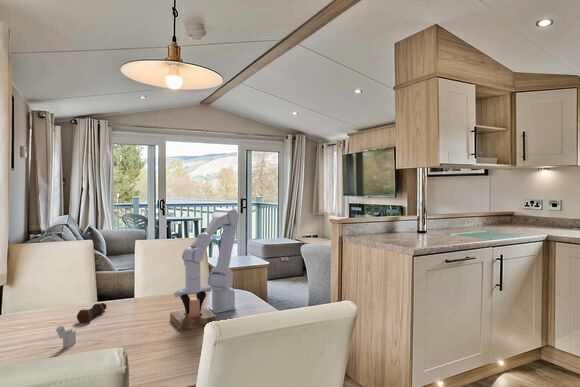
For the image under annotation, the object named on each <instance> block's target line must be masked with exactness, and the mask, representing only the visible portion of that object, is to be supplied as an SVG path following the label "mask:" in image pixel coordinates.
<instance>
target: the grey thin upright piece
mask: <svg viewBox="0 0 580 387" xmlns="http://www.w3.org/2000/svg"><path fill="white" fill-rule="evenodd" d="M55 330H56V333H57V335H58V337H59V339H62V348H63V349H68V348H70V347H72V346H74V345H75V344H76V343H77V341H76V340H77V338H76V336H77V334H76V332H77V330H73V329H72V328H69V329H67V330H65V327H64V326H63V325H59V326H58V327H56V329H55Z"/></svg>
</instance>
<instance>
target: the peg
mask: <svg viewBox="0 0 580 387" xmlns="http://www.w3.org/2000/svg"><path fill="white" fill-rule="evenodd" d="M189 298H190V301H189V314H187V313H186V317H188V318H191V317H196V316H200V300H199V299H198V298H197V296H196V297H189Z"/></svg>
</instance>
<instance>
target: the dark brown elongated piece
mask: <svg viewBox="0 0 580 387" xmlns="http://www.w3.org/2000/svg"><path fill="white" fill-rule="evenodd" d="M106 309H107V304H106V303H104V302H101V303H94V304H93V305H92V307H91V308H89V309H80V310H79V311H78V312H77V314H76V319H77V321H78V323H79V324H87V323H90V321H91V320H92V317H94V316H98V315H101V314H103V312H104V311H105V310H106Z"/></svg>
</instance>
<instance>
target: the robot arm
mask: <svg viewBox="0 0 580 387" xmlns="http://www.w3.org/2000/svg"><path fill="white" fill-rule="evenodd" d="M211 215H212V216H211V217H212V219H210V221H209V223H208V225H207V227H206V228H205V230H204V231H203V232H200V233H198V234H197V236H196V238H195V239H194V241H193V242H192V243H191V244H190V246H188V247H186V248H185V249H184V250H183V252H182V254H181V259H182V261H183V265H184V266H185V288H183V289H179V290H174V291H173V296H174V298H179V297H180V299H181V301H182V303H183V306H184V310H185V311H186V313H187V314H189V301H190V298H191V297H189V296H190V295H196V298H198V299H199V300H200V311H201V307H203V303H204V300H205V299H206V296H207V292H209V293H210V292H211V306H209V307H208V310H209V311H211V312H212V313H214V314H218V313H224V312H228V311H232V310H233V311H234V310H236V304H235V303H236V294H235V290H234V288H233V287H232V286H233V283H234V278H233V277H234V272H233V270H232V269H231V268H230V263H231V259H232V253H233V252H232V251H233V248H234V243H235V237H236V231H237V228H238V223H239V219H240V215H239V213H238V210H237V209H236V208H220V207H218V208H216V209H215V210H214V211H213V213H212V214H211ZM219 228H221V229H222V230H223V232H222V236H221V237H222V238H221V242H220V246H219V252H218V257H217V260H216V261H217V262H216V265H215V266H214V267H213V268H211V271H210V273H209V276H207V283H208V285H205V286H203V285H201V262H202V261H203V260H204V258H205V253H206V250H207V248H208V247H209V245H210V244H211V242H212V236H214V234H215V233H216V232H217V230H218V229H219Z"/></svg>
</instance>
